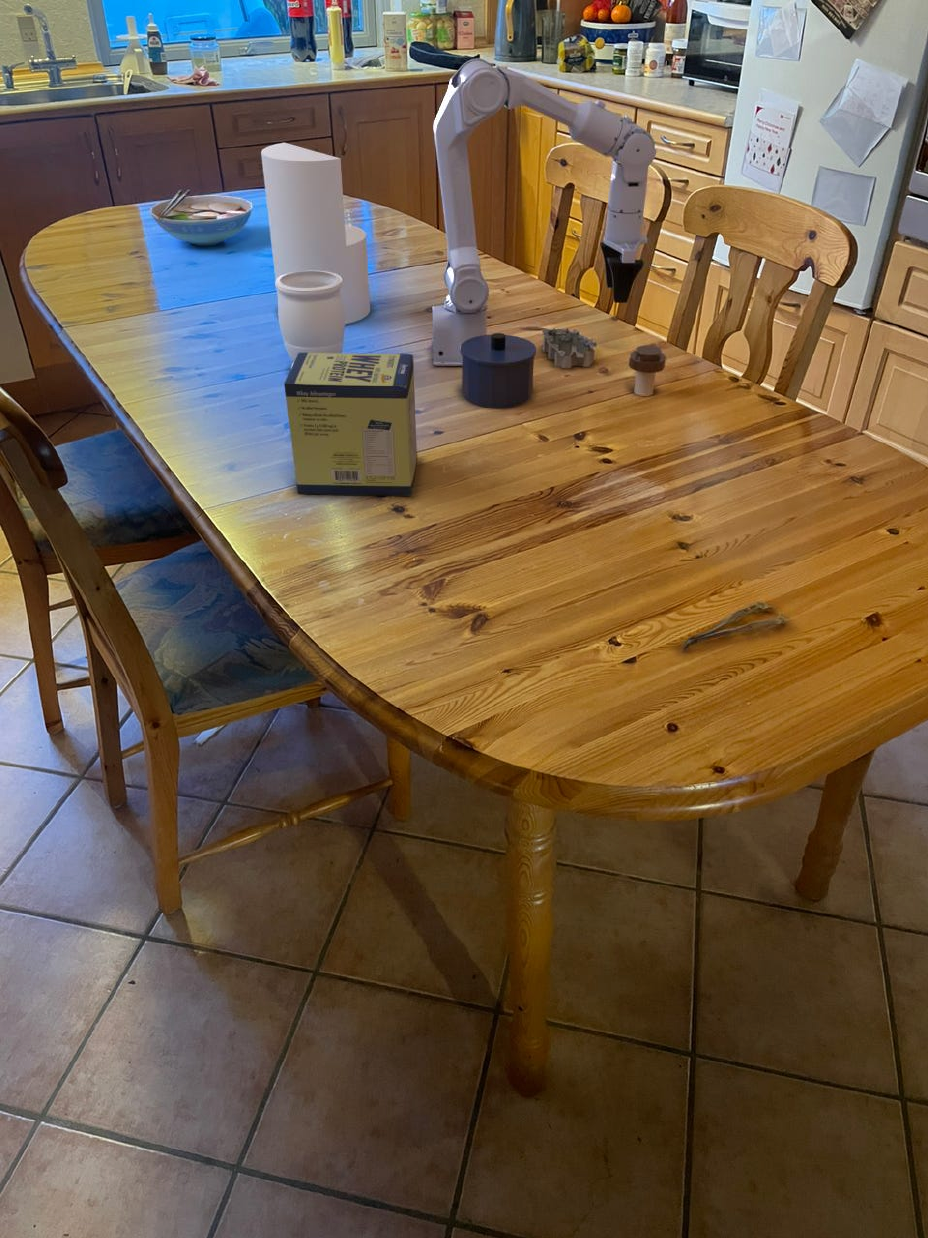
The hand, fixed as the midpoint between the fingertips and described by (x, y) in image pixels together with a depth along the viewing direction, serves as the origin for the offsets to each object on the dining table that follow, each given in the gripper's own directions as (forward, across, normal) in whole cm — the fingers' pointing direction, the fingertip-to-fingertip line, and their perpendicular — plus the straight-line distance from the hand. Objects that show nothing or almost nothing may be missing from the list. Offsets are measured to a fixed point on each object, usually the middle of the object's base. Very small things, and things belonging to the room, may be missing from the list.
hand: (616, 294), depth 160 cm
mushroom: (+10, -18, -3) cm, 20 cm away
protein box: (+10, -45, +41) cm, 62 cm away
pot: (+10, -18, +21) cm, 29 cm away
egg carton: (+10, -3, +8) cm, 13 cm away
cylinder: (+10, +21, +52) cm, 57 cm away
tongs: (+10, -81, -1) cm, 81 cm away
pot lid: (+3, -18, +21) cm, 28 cm away
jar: (+10, -8, +50) cm, 52 cm away
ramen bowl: (+10, +68, +83) cm, 108 cm away
